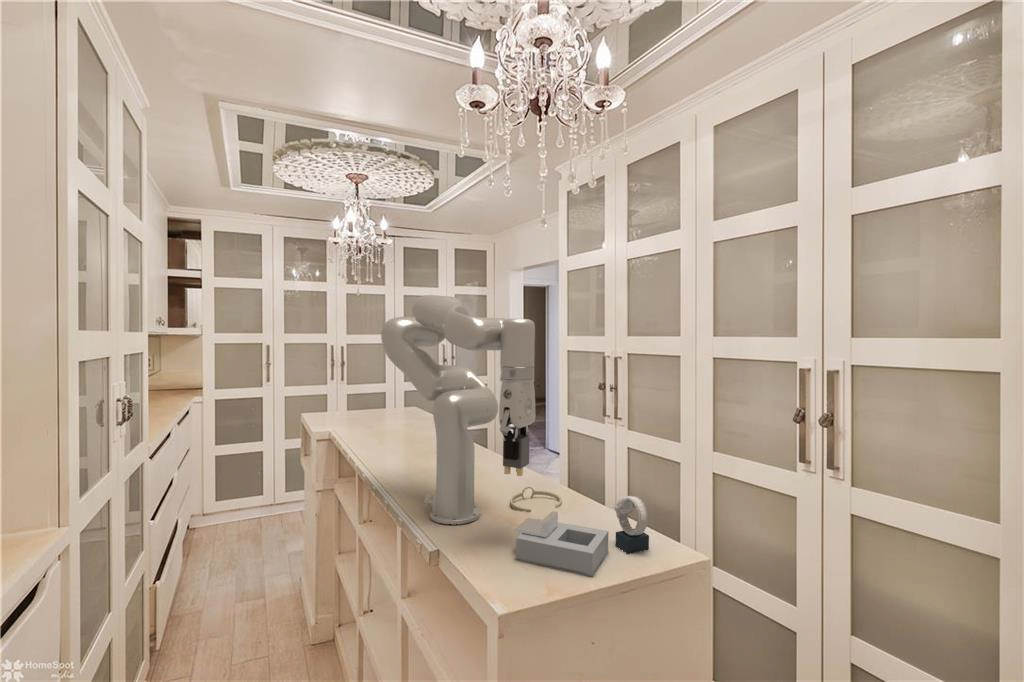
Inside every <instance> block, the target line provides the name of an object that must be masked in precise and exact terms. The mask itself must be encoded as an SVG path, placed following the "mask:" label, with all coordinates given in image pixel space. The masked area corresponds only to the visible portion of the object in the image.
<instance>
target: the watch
mask: <svg viewBox="0 0 1024 682" xmlns="http://www.w3.org/2000/svg"><path fill="white" fill-rule="evenodd" d="M635 509H636V510H637V514H638V520H637V522H636V525H635V528H633V527H632V526H631V523H630V521H629V516H630V515H631V513H632V512H633V511H634V510H635ZM614 510H615V513H616V519H618V522H619V525H620V528H621V529H622V530H619V531H618V530H617V531H615V547H616V546H617V547H616V548H618V549H619V548H620V549H619V550H621V551H622V550H623V551H622V552H624V553H625V552H626V555H630V553H631V554H635V552H636V553H639V552H640V551H641V552H645V551H644V550H646V551H649V550H650V535H649V534H647V533H646V532H645V531H646V529H647V526H648V523H649V520H648V517H649V516H648V511H647V508H646V505H645V503H644V501H643V500H642V499H641V498H639V497H638V496H632V495H626V496H623V497H622V498H620V499H618V501H617V502H616V503H615V505H614ZM648 549H649V550H648ZM641 552H640V553H641Z"/></svg>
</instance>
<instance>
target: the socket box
mask: <svg viewBox="0 0 1024 682" xmlns="http://www.w3.org/2000/svg"><path fill="white" fill-rule="evenodd" d="M543 519H544V518H543ZM543 519H541V518H538V520H543ZM515 541H516V542H515V548H516V549H515V560H516V561H519V562H522V563H527V564H533V565H538V566H541V567H545V568H549V569H556V570H560V571H564V572H568V573H573V574H578V575H581V576H582V575H583V576H586V577H591V578H593V577H594V575H595V574H596V572H597V570H598V569H599V568H600V565H602V562H603V561H604V560H605V558H606V556H607V555H608V553H609V530H606V529H605V530H604V529H598V528H593V527H587V526H582V525H575V524H569V523H565V522H559V521H558V526H557V527H556V528H555V529H554V530H553V531H552V532H551V533H550V534H549V535H548V536H547V537H540V536H535V535H530V534H525V533H520V534H519V535H518V536H517V537H516V538H515Z"/></svg>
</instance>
